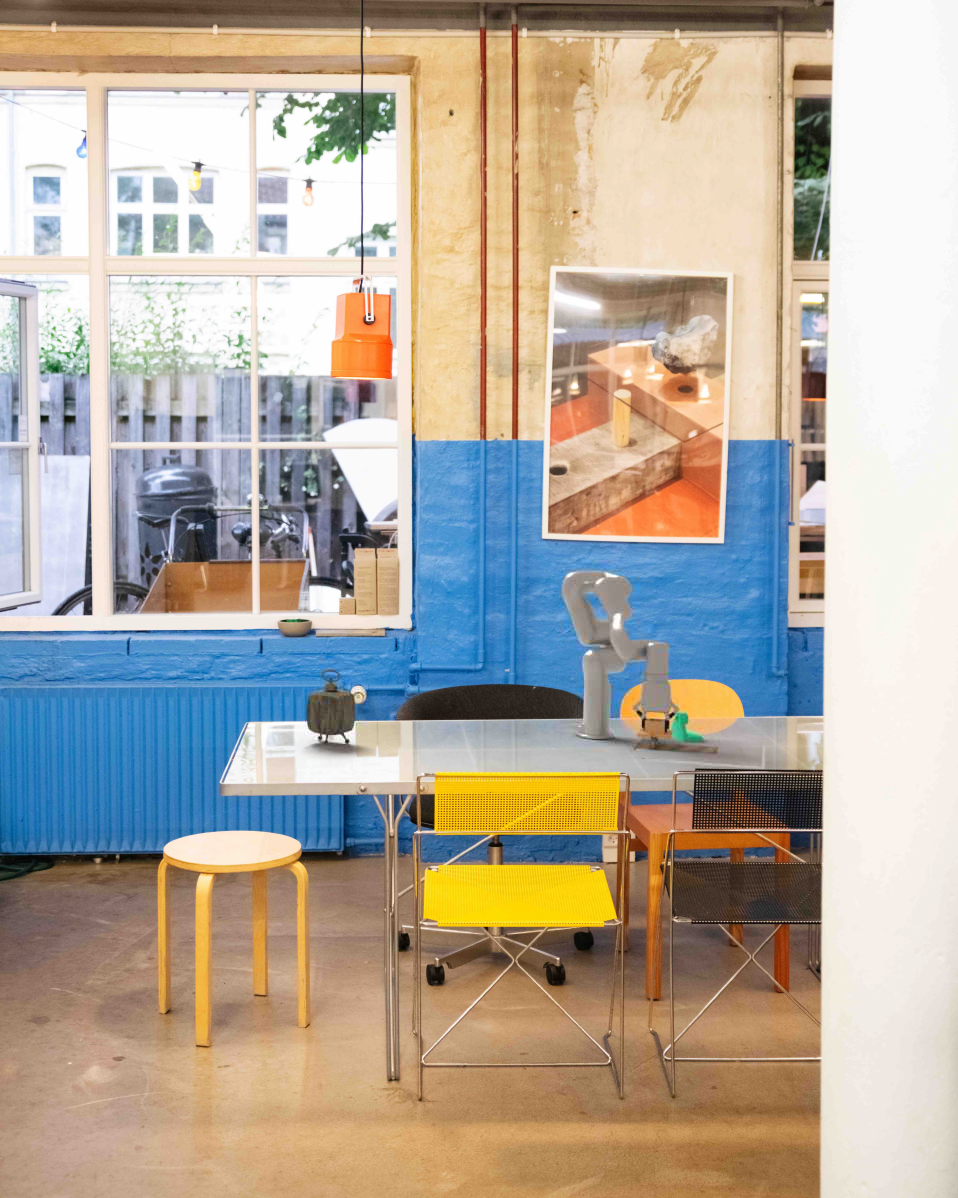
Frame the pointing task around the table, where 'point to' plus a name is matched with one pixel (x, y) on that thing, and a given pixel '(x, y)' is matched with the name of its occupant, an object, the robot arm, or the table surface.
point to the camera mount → (683, 728)
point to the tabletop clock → (331, 710)
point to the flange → (655, 729)
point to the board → (675, 747)
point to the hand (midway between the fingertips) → (655, 730)
